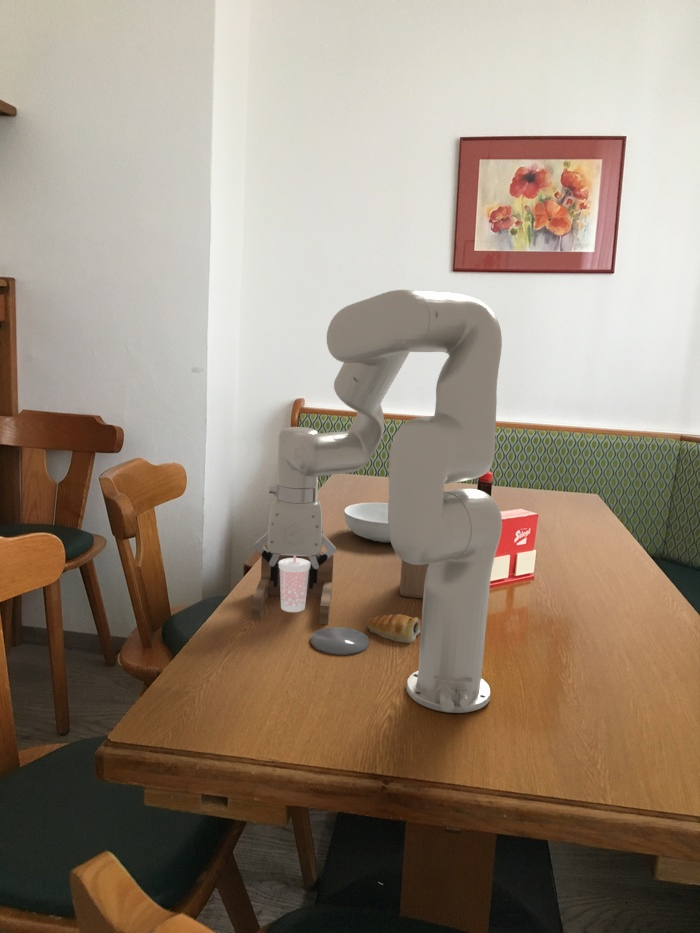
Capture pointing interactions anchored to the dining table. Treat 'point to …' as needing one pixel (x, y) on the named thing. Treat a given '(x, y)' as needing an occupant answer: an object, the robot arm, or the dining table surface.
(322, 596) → the rack
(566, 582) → the dining table surface
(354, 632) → the coaster
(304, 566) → the beverage cup
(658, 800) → the dining table surface
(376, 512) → the serving bowl
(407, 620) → the pastry
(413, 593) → the block
